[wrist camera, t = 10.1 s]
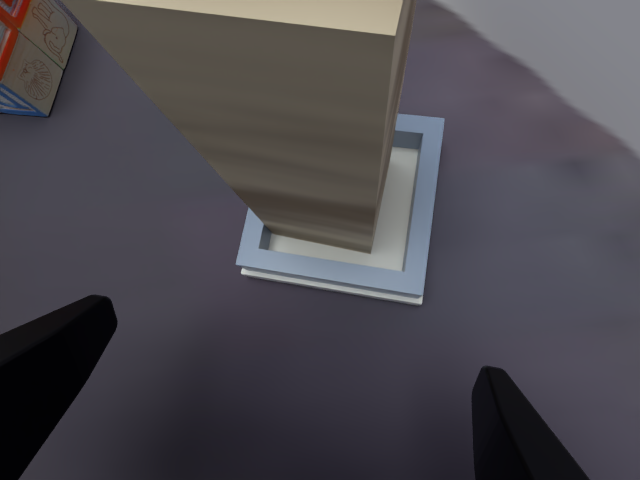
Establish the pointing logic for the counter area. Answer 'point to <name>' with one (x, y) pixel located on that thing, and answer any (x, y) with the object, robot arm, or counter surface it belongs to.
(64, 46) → the stack of blocks
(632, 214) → the counter surface
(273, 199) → the maple pillar block
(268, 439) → the counter surface
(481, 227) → the counter surface
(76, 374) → the robot arm
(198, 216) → the counter surface
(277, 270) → the blue square tray
